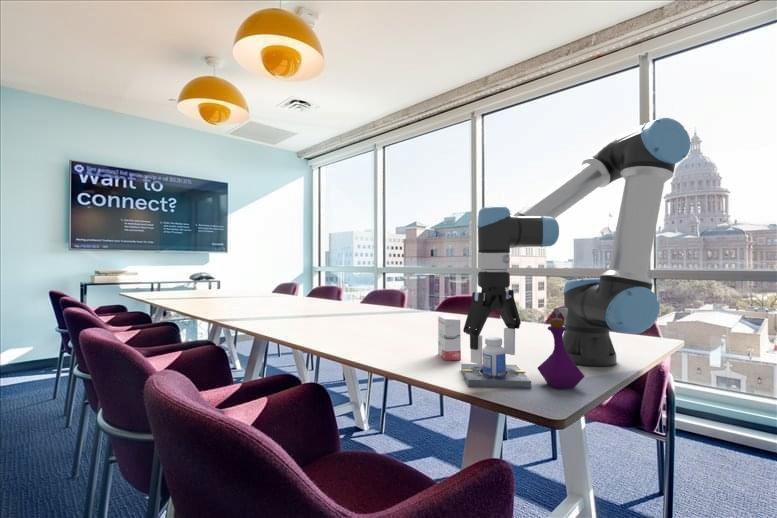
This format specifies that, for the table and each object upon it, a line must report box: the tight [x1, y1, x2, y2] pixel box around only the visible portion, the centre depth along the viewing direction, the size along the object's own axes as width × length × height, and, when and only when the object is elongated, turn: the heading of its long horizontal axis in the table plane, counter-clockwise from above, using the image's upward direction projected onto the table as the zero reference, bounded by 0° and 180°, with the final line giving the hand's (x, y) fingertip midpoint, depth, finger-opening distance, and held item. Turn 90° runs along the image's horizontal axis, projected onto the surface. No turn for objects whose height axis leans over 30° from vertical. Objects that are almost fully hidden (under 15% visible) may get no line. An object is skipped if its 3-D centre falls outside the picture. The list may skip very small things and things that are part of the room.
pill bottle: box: [482, 336, 507, 376], centre depth 99 cm, size 6×5×10 cm
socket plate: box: [461, 363, 532, 389], centre depth 99 cm, size 15×14×2 cm
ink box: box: [437, 315, 462, 361], centre depth 120 cm, size 9×5×12 cm, turn 7°
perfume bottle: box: [537, 307, 585, 390], centre depth 93 cm, size 8×8×18 cm
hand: (493, 358), depth 99 cm, fingers open, 13 cm apart
